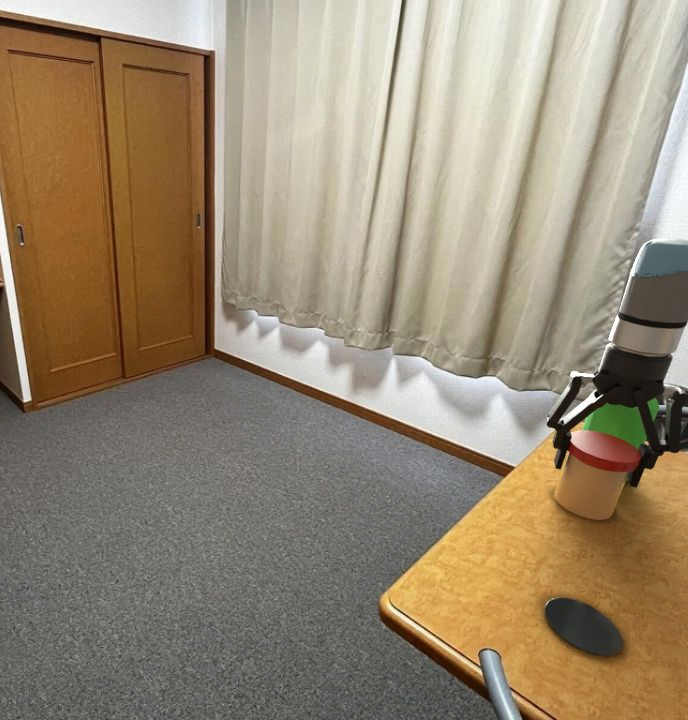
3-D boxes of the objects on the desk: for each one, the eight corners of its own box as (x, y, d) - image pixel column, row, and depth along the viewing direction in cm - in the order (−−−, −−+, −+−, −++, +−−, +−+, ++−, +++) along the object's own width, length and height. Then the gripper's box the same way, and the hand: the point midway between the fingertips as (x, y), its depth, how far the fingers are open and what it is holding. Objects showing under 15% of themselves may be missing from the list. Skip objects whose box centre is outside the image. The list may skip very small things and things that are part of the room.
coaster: (614, 617, 62) (616, 613, 61) (627, 671, 55) (629, 666, 55) (541, 592, 65) (542, 588, 65) (545, 640, 59) (546, 635, 59)
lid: (555, 450, 78) (558, 441, 78) (580, 433, 83) (583, 424, 82) (623, 479, 71) (627, 469, 70) (646, 458, 76) (650, 449, 75)
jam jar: (607, 499, 82) (629, 443, 78) (615, 528, 76) (639, 469, 72) (551, 485, 86) (569, 431, 82) (555, 512, 80) (575, 454, 75)
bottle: (565, 471, 90) (607, 349, 80) (575, 452, 95) (615, 336, 85) (625, 493, 84) (678, 364, 74) (632, 471, 89) (682, 348, 79)
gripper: (733, 352, 67) (674, 480, 76) (548, 328, 78) (515, 444, 87) (755, 371, 61) (688, 508, 70) (552, 343, 72) (516, 466, 81)
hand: (593, 473), depth 78 cm, fingers closed on lid, 9 cm apart
